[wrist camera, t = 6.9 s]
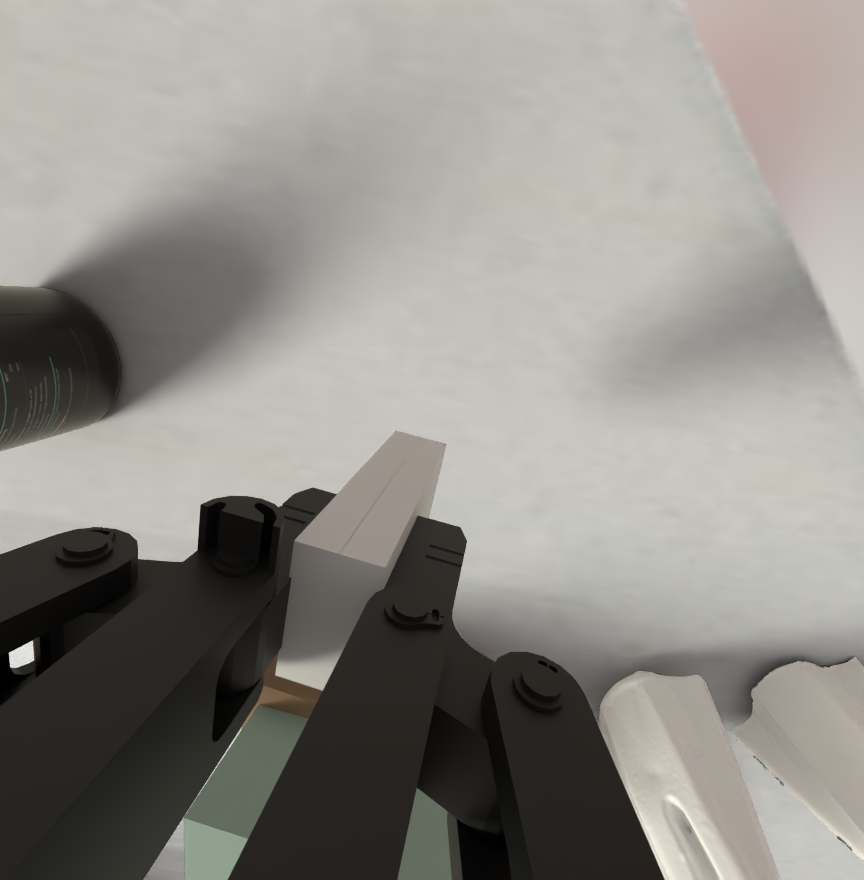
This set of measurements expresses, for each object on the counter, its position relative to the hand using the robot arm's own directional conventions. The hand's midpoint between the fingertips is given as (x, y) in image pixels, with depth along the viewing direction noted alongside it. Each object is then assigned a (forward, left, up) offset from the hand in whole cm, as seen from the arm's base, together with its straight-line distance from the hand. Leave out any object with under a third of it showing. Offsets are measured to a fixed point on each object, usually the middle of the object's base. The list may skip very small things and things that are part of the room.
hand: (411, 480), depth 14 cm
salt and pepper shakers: (+10, +15, -8) cm, 19 cm away
